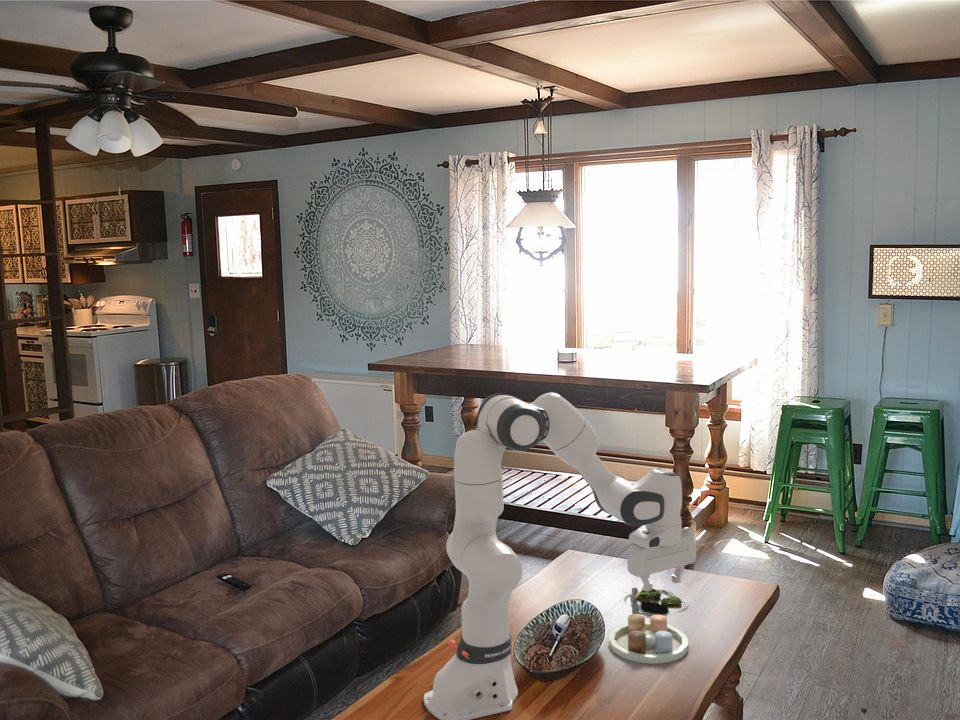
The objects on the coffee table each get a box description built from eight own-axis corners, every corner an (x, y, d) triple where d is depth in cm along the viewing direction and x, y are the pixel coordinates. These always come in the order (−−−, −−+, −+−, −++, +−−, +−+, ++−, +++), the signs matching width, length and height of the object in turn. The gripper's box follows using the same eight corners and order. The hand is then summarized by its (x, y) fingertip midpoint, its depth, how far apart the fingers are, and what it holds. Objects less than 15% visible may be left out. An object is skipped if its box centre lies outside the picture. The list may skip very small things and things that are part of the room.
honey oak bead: (635, 640, 223) (635, 622, 222) (624, 634, 226) (624, 616, 226) (648, 636, 225) (648, 618, 224) (637, 630, 229) (637, 612, 228)
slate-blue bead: (651, 652, 216) (651, 633, 215) (664, 647, 218) (664, 629, 218) (663, 659, 212) (663, 640, 212) (676, 654, 214) (676, 635, 214)
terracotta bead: (658, 641, 222) (658, 623, 221) (646, 635, 225) (646, 617, 225) (670, 637, 224) (670, 619, 223) (659, 630, 228) (659, 613, 227)
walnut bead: (640, 658, 213) (640, 640, 212) (625, 654, 216) (624, 635, 215) (648, 652, 216) (648, 633, 216) (633, 647, 219) (633, 629, 218)
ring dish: (645, 675, 207) (645, 661, 206) (593, 644, 224) (593, 631, 223) (704, 653, 217) (704, 640, 216) (650, 624, 234) (650, 612, 234)
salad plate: (609, 597, 254) (608, 582, 253) (662, 588, 259) (662, 574, 258) (639, 624, 235) (639, 608, 235) (696, 614, 241) (696, 598, 240)
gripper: (684, 522, 219) (683, 573, 221) (623, 536, 209) (622, 590, 210) (702, 529, 214) (701, 581, 215) (641, 543, 203) (640, 598, 205)
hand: (662, 585), depth 213 cm, fingers open, 8 cm apart
